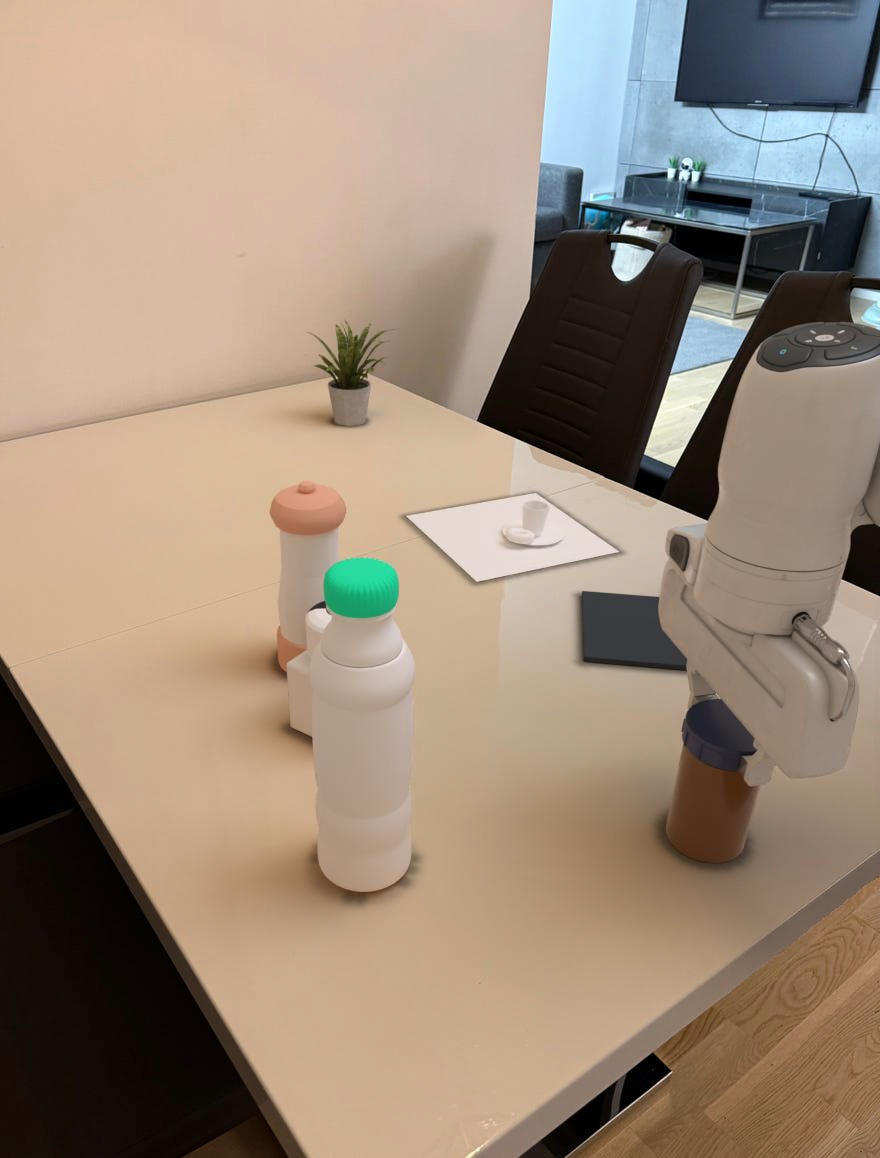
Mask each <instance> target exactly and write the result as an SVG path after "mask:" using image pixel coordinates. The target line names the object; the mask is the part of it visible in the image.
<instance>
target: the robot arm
mask: <svg viewBox="0 0 880 1158" xmlns="http://www.w3.org/2000/svg"><path fill="white" fill-rule="evenodd" d="M717 478H718V479H717V480H718V488H719V490H718V495H717V501H716V504H715V506H714V508H713V510H712V511H711V514H710V516H709V517H708V520H707V522H706V523H699V524H689V525H684V526H683V525H682V526H677V527H671V528H669V529H668V530H667V533H666V537H665V542H664V543H665V545H664V551H665V553H666V555H667V557H668V558H667V560H666V562H665V564H664V567H663V573H662V578H661V584H660V589H659V596H658V597H659V606H658V613H659V619H660V624H661V627H662V630H663V631H664V632H665V633H666V635H667V636H668V637H669V638H670V639H671V640H672V642H673V643H674V644H675V645H676V646H677V647H678V649H679V650H680V651H681V652H682V653H683V655H684V656H685V657H686V658H687V659H688V660H687V664H686V668H687V670H686V675H687V680H688V688H689V692H690V693H689V698H688V702H687V710H689V708H690V707H691V706H692V705H694V704H696V703H698V702H700V701H704V700H708V699H721V700H722V701H723V702H724V703H725V704H726V705H727V707H728V708H729V709H730V710H731V711H732V713H733V714H734V715H735V716H736V717H737V718H738V720H739V721H740V722H741V723H742V724H743V726H744V727H745V728H746V729H747V730H748V731H749V733H750V734H751V735H752V736H753V737H754V742H753V746H754V747H755V749H757V752H756V753H755V754H742V755H741V757H740V761H739V764H740V766H738V769H737V770H738V773H739V774H740V775H741V777H742V778H743V779H744V781H745V782H746V783H747V784H748V785H749V786H757V785H761V786H764V785H767V784H768V783H769V782H770V781H771V779H772V776H773V772H774V769H775V766H777V767H778V768H779V769H780V771H781V772H782V773H783V774H784V775H785V776H786V777H787V778H789V779H792V780H800V779H811V778H820V777H824V776H828V775H833V774H835V773H837V772H840V771H841V770H843V769H844V768H845V765H846V764H847V762H848V757H849V755H850V754H849V753H850V751H851V746H852V741H853V737H854V732H855V728H856V722H857V716H858V711H859V701H860V685H859V680H858V677H857V675H856V672H855V671H854V669H853V668H852V665H851V663H850V662H849V659H850V654H849V653H848V650H847V649H846V648H845V647H844V645H842V643H840V642H839V641H837V640H834V639H833V638H832V637H831V636H830V635H829V634H828V633H827V632H826V630H825V629H824V628H823V627H824V626H825V625H826V624H827V623H828V622H829V620H830V619H831V615H832V614H833V613H832V612H833V609H834V605H835V603H836V599H837V595H838V592H839V588H840V586H841V582H842V578H843V575H844V571H845V568H846V565H847V561H848V558H849V554H850V550H851V535H852V533H853V531H854V530H855V529H856V528H857V527H859V526H862V525H863V526H864V525H874V524H875V525H876V526H878V527H880V329H878V328H875V327H872V326H868V325H865V324H861V323H856V322H849V321H840V322H837V321H836V322H835V321H834V322H833V321H832V322H824V321H817V322H808V323H803V324H798V325H793V326H791V327H788V328H785V329H783V330H781V331H778V332H777V333H774V334H772V335H771V336H769V337H767V338H765V339H764V340H763V341H762V342H761V343H760V344H759V345H758V347H757V348H756V349H755V351H754V353H752V356H751V357H750V359H749V361H748V363H747V365H746V366H745V369H744V371H743V373H742V374H741V378H740V381H739V383H738V386H737V388H736V391H735V395H734V397H733V400H732V404H731V408H730V410H729V415H728V418H727V423H726V426H725V431H724V436H723V440H722V444H721V450H720V455H719V460H718V465H717Z"/></svg>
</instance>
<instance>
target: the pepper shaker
mask: <svg viewBox="0 0 880 1158" xmlns="http://www.w3.org/2000/svg"><path fill="white" fill-rule="evenodd" d="M269 515H270V517H271V520H272V522H273V524H274V525H275V527H276V528H278V529H279V544H280V545H279V546H280V564H281V568H280V577H279V578H280V579H279V586H278V595H277V609H278V619H279V625H278V627H277V631H276V643H277V644H276V645H277V646H276V647H277V660H278V664H279V666H280V669H282V670H283V671H284V672H285V673H286V674H287V666H286V665H287V663H288V662H289V661H291V660H292V659H294V658H295V657H297V656H298V655H300V654H301V653H303V652H304V651H306V650H307V638H306V614H307V613H308V611H309V610H310V609H311V608H312V607H313V606H314V605H316V604H318V603H320V602H322V601H325V599H324V587H323V584H324V577H325V573H326V571H327V570H328V569H329V568H330V567H331V566H332V565H334V564H336V563H337V562H340V547H339V543H340V542H339V528H340V526H341V525H342V524H343V522H344V520H345V517H346V515H347V506H346V502H345V500H344V499H343V498H342V496H341V494H340V493H339V492H338V490H335V488H332V487H329V486H326V485H322V484H319V483H315V482H314V481H312V480H303V481H300V482H299V483H298V484H294V485H291V486H287V487H286V488H283V489H281V490H279V491H278V492H277V493H276V494H275V496H274V498H273V499H272V500H271V503H270V509H269Z"/></svg>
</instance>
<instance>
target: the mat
mask: <svg viewBox="0 0 880 1158" xmlns="http://www.w3.org/2000/svg"><path fill="white" fill-rule="evenodd" d="M659 597H660V596H652V595H641V594H629V593H628V594H627V593H613V592H603V591H589V590H582V591H581V611H582V613H581V615H582V641H583V643H582V645H583V661H584V662H585V663H586V662H587V663H598V664H599V663H600V664H610V665H620V666H621V665H623V666H632V667H644V668H654V669H655V668H656V669H666V670H667V669H668V670H679V671H680V670H681V671H687V668H686V664H687V660H688V659H687V658H686V657H685V656H684V655H683V653H682V652H681V651H680V650H679V649H678V647H677V646H676V645H675V644H674V643H673V642H672V640H671V639H670V638H669V637H668V636H667V635H666V633H665V632H664V631H663V630H662V627H661V624H660V619H659V613H658V606H659Z"/></svg>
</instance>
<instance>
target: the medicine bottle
mask: <svg viewBox="0 0 880 1158" xmlns="http://www.w3.org/2000/svg"><path fill="white" fill-rule="evenodd" d="M331 619H332V615H331V614H330V613H329V612H328V611H327V608H326V603H325V601H322V602H320V603H318V604H316V605H314V606H313V607H312V608H311V609H310V610H309V611H308V613H307V614H306V638H307V650H306V651H304V652H303V653H301V654H300V655H298V656H297V657H295V658H294V659H292V660H291V661H289V662H288V663H287V665H286V666H287V673H286V679H287V691H288V692H287V695H288V709H289V710H288V711H289V712H288V713H289V725H290V727H291V728H292V729H294V730H296V731H299V732H301V733H303V734H305V735H307V736H309V737H311V738H312V696H313V688H312V686H311V683H310V677H309V666H310V661H311V658H312V655H313V653H314V651H315V649H316V647H317V645H318V643H319V641H320V640H321V637H322V634H323V631H324V629H325V628H326V626H327V625H328V623H329V622H330V621H331Z"/></svg>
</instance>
